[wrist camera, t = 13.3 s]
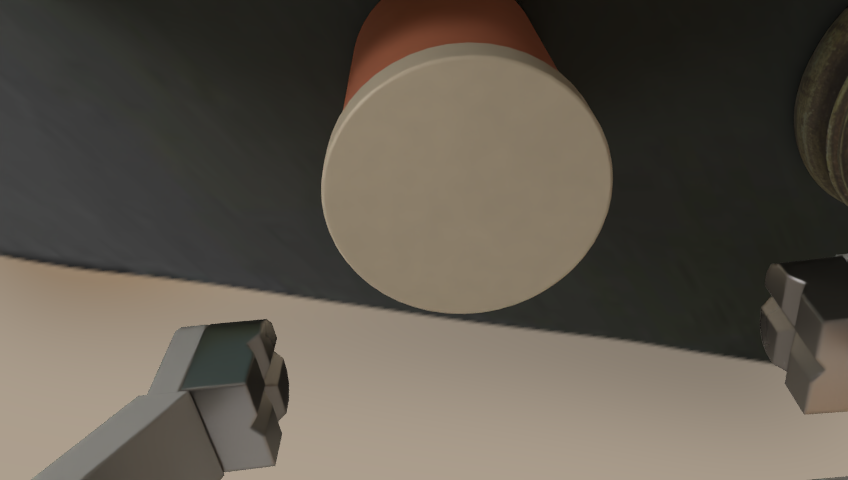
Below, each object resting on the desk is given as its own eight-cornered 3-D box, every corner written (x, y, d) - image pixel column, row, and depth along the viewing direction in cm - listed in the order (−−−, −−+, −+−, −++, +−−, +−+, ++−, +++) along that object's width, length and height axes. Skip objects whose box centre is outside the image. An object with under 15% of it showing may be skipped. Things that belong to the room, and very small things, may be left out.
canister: (540, -50, 22) (614, 34, 14) (549, 146, 25) (613, 297, 18) (327, -18, 22) (290, 80, 15) (365, 171, 26) (351, 330, 18)
